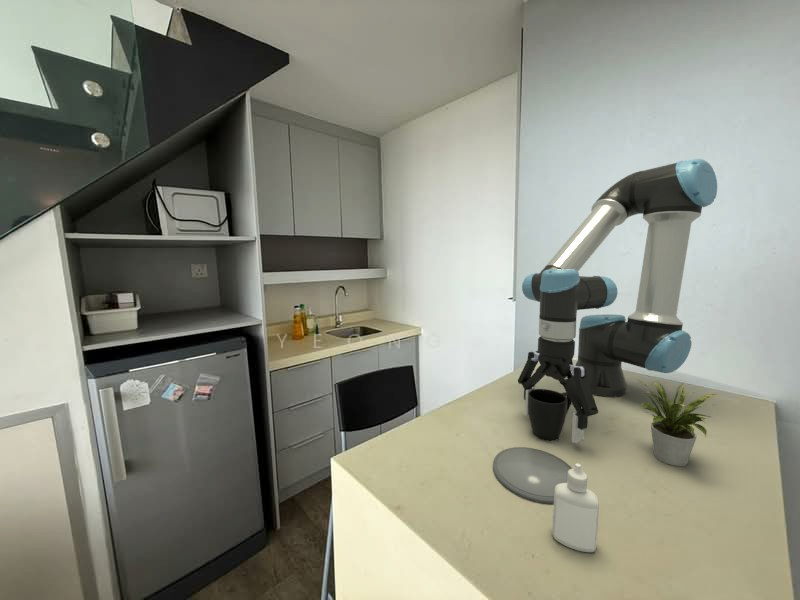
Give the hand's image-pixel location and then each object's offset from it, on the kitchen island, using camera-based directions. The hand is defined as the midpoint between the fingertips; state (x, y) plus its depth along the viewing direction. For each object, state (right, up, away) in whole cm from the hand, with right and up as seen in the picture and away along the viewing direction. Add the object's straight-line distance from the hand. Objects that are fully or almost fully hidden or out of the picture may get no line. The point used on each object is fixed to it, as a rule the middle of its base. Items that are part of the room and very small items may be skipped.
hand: (551, 426), depth 75 cm
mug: (0, -2, 0) cm, 2 cm away
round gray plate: (-10, -4, -14) cm, 18 cm away
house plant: (+18, -3, -9) cm, 21 cm away
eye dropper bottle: (-10, -6, -28) cm, 31 cm away
